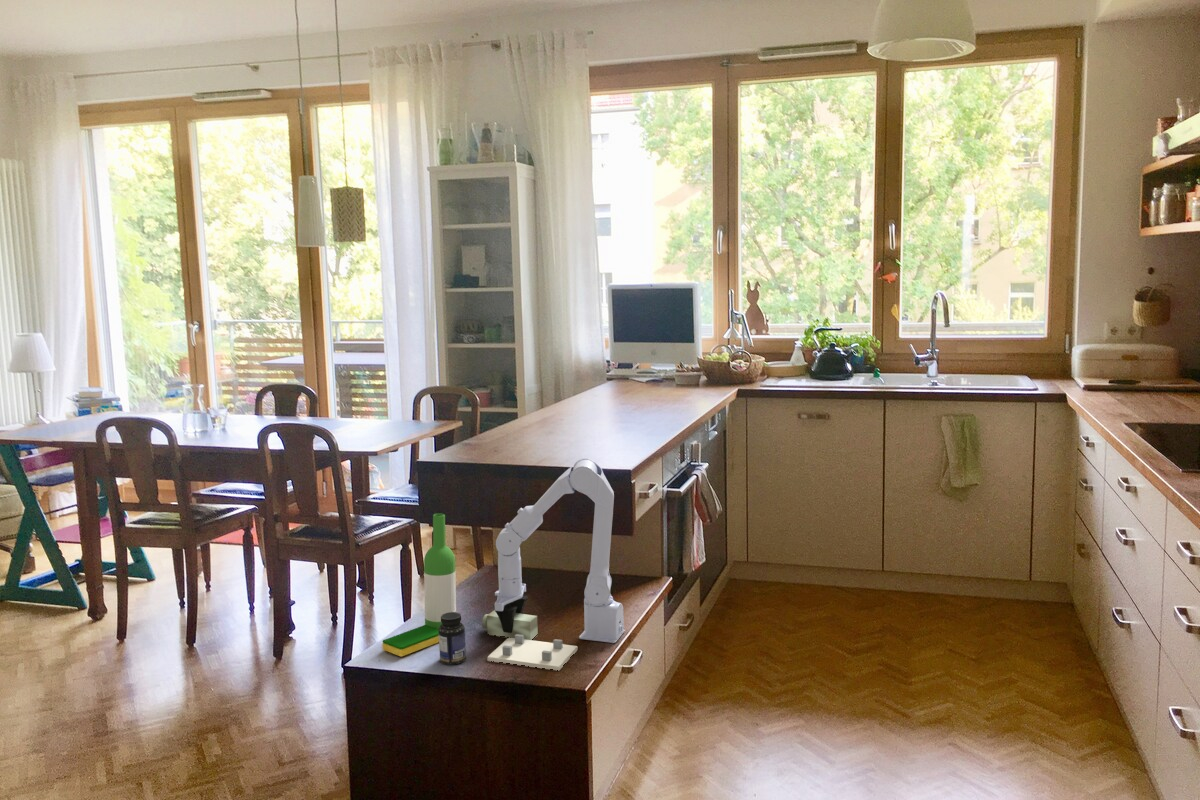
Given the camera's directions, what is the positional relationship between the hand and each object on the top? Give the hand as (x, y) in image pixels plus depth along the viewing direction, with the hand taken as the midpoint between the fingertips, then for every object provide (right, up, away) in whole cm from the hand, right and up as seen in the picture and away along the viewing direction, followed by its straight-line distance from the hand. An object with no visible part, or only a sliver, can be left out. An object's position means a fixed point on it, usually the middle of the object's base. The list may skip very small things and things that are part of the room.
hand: (511, 628), depth 244 cm
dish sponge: (-23, -3, -6) cm, 24 cm away
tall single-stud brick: (0, -2, 0) cm, 2 cm away
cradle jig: (+6, -4, -12) cm, 14 cm away
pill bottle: (-13, -4, -14) cm, 19 cm away
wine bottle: (-18, -1, +4) cm, 19 cm away
